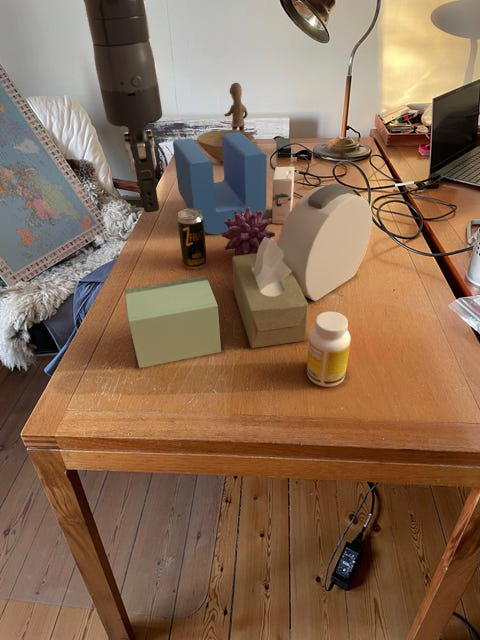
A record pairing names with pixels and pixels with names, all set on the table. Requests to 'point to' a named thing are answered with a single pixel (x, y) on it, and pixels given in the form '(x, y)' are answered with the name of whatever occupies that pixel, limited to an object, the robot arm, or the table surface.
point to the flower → (246, 232)
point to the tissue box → (269, 297)
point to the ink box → (282, 194)
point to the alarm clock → (326, 238)
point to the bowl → (217, 142)
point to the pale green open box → (173, 321)
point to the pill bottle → (328, 349)
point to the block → (233, 192)
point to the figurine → (237, 108)
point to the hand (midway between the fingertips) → (149, 199)
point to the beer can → (192, 238)
